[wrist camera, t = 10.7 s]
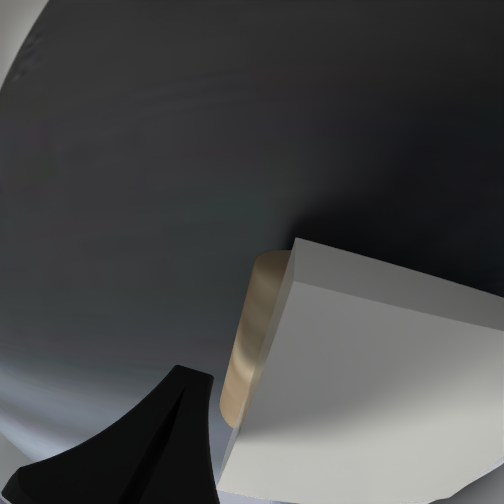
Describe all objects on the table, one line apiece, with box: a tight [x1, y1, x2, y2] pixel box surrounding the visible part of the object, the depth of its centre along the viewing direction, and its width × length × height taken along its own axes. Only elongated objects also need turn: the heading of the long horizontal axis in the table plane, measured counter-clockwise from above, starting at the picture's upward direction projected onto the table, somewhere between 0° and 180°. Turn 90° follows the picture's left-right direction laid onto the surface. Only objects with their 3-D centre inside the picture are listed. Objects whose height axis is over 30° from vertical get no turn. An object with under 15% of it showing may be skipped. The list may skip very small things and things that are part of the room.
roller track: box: [220, 250, 292, 429], centre depth 12 cm, size 8×25×4 cm, turn 78°
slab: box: [216, 238, 504, 504], centre depth 9 cm, size 12×14×2 cm
